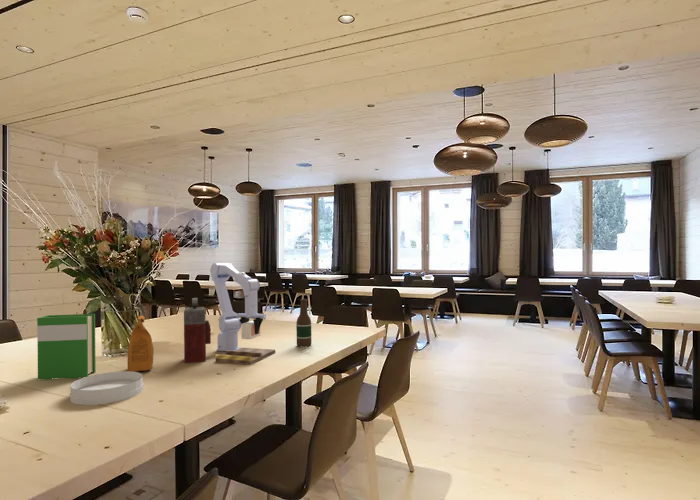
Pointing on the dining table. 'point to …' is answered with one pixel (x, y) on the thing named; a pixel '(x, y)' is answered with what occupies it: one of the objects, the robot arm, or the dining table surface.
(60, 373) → the hardback book
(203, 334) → the dark red canister
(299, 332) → the beer bottle
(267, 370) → the dining table surface
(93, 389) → the dish
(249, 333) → the label carton
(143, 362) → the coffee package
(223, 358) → the shelf board
